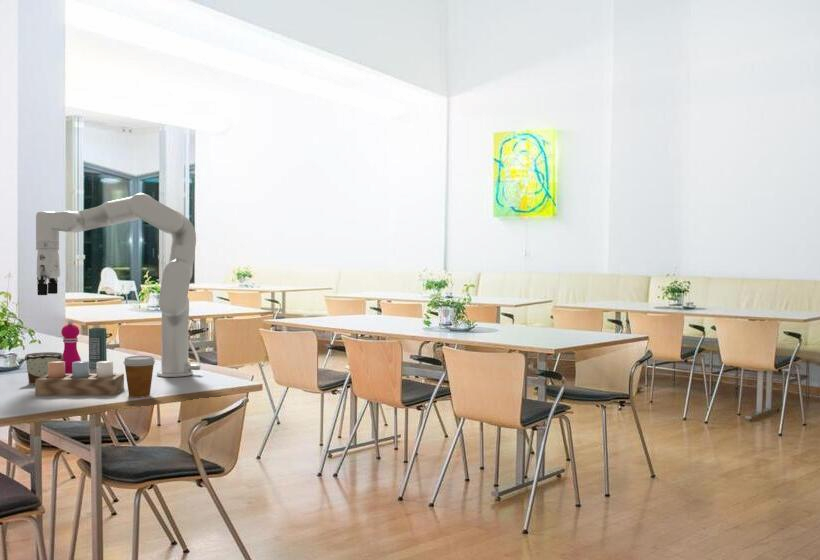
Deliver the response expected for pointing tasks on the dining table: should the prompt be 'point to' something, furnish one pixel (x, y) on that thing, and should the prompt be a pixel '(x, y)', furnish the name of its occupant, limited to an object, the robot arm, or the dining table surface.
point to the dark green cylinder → (97, 346)
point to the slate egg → (80, 369)
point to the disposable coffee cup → (139, 375)
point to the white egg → (104, 369)
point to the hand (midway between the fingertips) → (47, 294)
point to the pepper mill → (70, 346)
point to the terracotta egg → (56, 369)
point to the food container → (40, 364)
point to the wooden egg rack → (79, 385)
